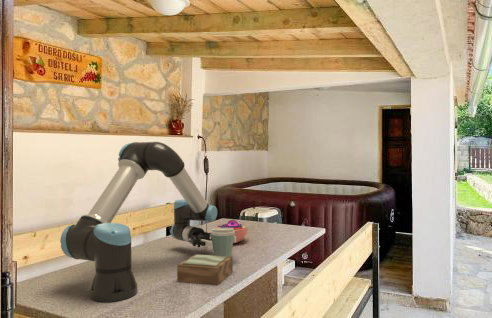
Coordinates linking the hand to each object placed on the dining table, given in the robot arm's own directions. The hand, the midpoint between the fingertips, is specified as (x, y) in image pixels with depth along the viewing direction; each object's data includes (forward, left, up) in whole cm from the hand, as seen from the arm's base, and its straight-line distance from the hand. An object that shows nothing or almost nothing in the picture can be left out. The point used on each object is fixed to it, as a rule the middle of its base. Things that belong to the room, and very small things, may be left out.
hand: (223, 242), depth 172 cm
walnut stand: (-19, 0, -9) cm, 21 cm away
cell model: (+37, +9, -9) cm, 39 cm away
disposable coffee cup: (0, 0, -9) cm, 9 cm away
